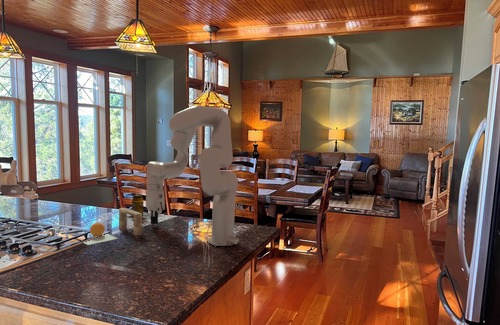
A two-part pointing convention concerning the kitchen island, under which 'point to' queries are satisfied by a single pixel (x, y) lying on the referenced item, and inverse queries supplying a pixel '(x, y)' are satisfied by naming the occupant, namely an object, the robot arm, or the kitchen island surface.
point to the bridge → (137, 220)
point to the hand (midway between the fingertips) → (154, 223)
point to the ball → (97, 229)
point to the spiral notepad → (100, 239)
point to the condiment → (137, 205)
